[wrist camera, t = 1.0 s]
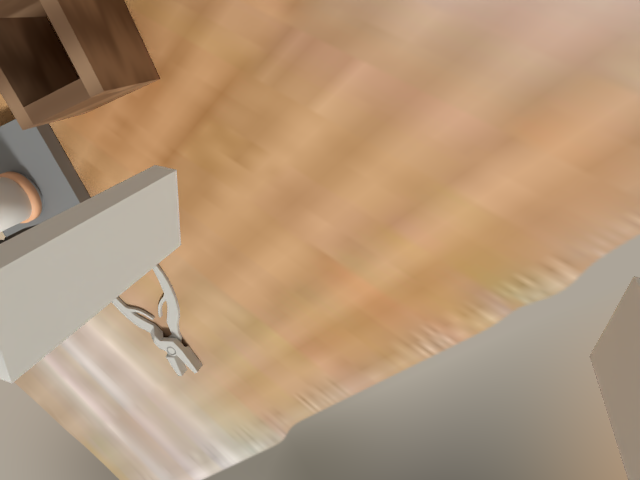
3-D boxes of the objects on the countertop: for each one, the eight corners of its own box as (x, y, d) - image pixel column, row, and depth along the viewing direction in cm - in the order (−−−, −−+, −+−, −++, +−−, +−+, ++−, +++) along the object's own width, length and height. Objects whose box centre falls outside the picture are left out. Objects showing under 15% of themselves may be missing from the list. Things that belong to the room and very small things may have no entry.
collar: (26, 6, 40) (-51, 5, 35) (102, -45, 36) (29, -55, 30) (84, 113, 44) (22, 130, 38) (160, 78, 40) (104, 91, 34)
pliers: (147, 262, 49) (218, 368, 53) (156, 255, 50) (224, 359, 54) (91, 284, 53) (160, 381, 57) (100, 278, 54) (167, 372, 59)
